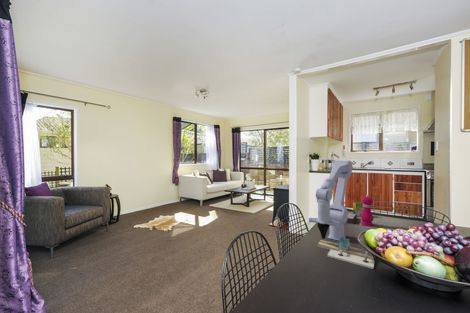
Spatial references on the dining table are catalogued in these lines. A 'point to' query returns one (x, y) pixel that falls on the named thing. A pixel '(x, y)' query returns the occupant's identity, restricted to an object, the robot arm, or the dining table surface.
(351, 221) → the calculator
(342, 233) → the robot arm
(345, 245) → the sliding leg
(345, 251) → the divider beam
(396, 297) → the dining table surface
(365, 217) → the pepper mill
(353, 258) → the bolt plate
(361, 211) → the crayon box
